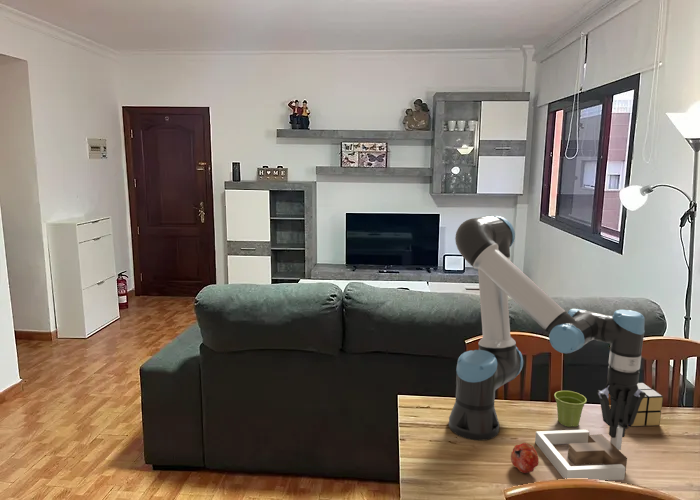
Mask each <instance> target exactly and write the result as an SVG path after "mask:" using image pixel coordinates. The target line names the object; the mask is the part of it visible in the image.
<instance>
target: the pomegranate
mask: <svg viewBox="0 0 700 500" xmlns="http://www.w3.org/2000/svg"><path fill="white" fill-rule="evenodd" d="M510 461H511V464H512V465H513V466H514V468H516V469H517V470H518V471H519V472H521V473H523V474H529V473H532V472H534V470H535V468H536V467H537V466H538V465H539V463H540V462H539V457H538V452H537V450H536V448H535V447H534V446H533V445H532V444H530V443H527V442H523V443H521V444H515V446H514V447H513V448H512V451H511V454H510Z"/></svg>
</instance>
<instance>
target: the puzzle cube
mask: <svg viewBox="0 0 700 500" xmlns="http://www.w3.org/2000/svg"><path fill="white" fill-rule="evenodd" d="M637 386H638V389H640V390H642V391H643V392H645V393H646V395H645V397H644V398H643V399H642V401H641V404H640V406H639V409H638V412H637V415H636V418H635V420H634V423H633V425H630V424H629V425H628V427H629V428H631V427H649V426H650V427H651V426H656V427H657V426H660V424H661V416H662V407H663V399H664V397H663V395H661V394H660V393H659V392H658V391H656V390H654V389H652V388H651V387H650V386H649V385H646V384H645V383H644V382H638V384H637ZM629 419H630V418H629Z"/></svg>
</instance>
